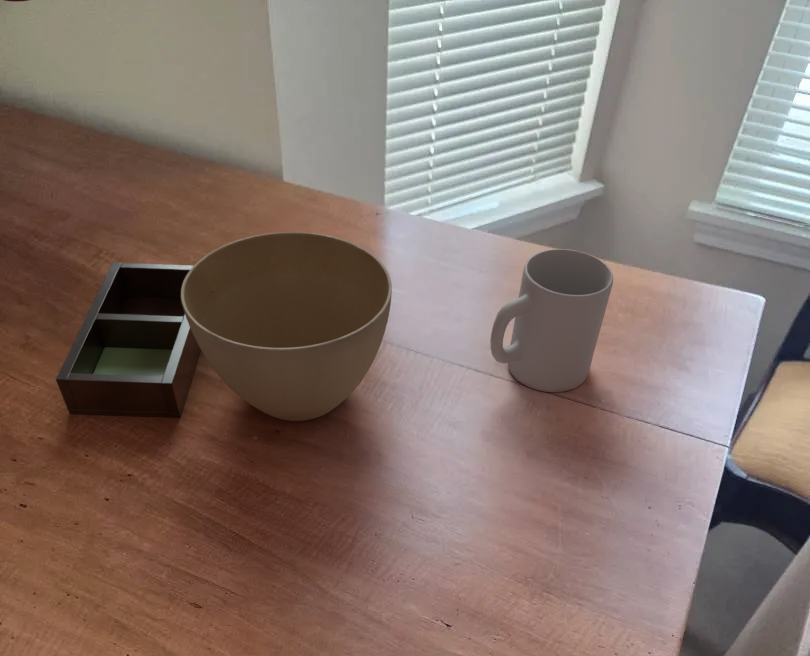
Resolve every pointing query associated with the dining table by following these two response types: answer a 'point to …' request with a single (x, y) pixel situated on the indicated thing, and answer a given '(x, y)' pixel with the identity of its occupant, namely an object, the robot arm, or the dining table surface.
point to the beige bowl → (289, 319)
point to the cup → (16, 0)
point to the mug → (554, 320)
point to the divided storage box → (132, 346)
